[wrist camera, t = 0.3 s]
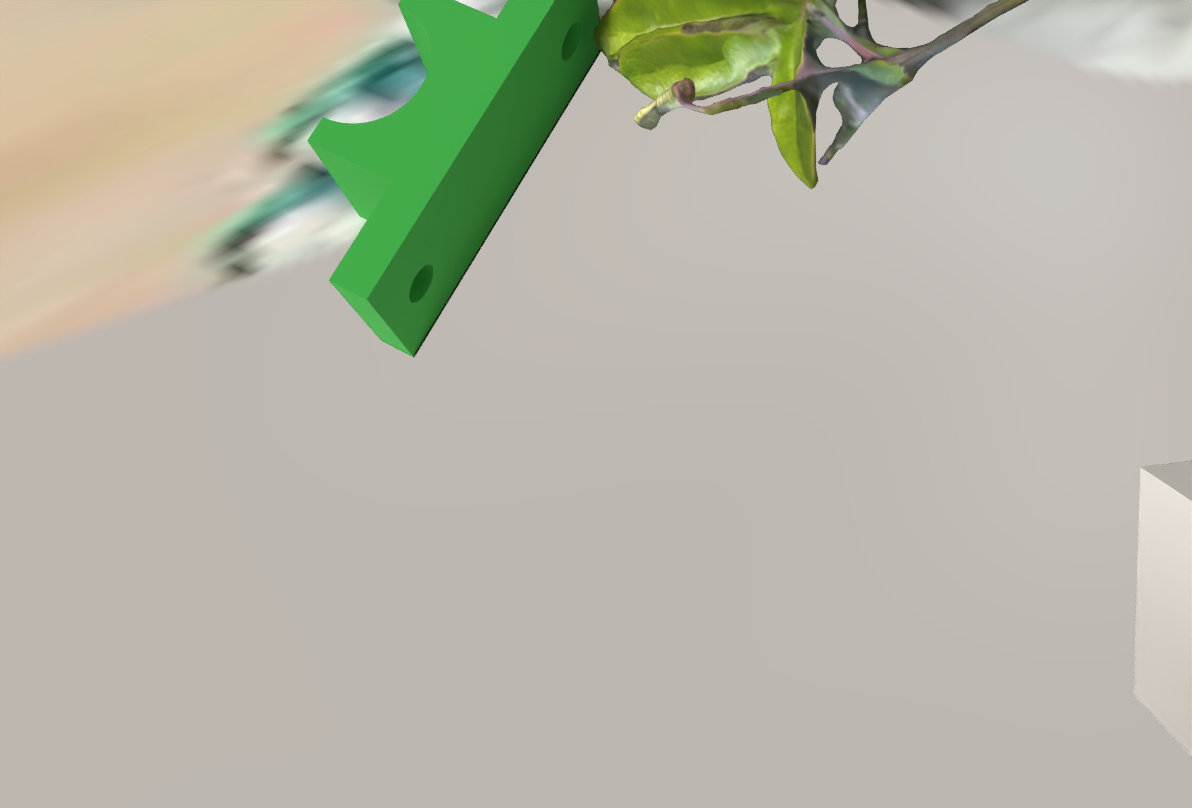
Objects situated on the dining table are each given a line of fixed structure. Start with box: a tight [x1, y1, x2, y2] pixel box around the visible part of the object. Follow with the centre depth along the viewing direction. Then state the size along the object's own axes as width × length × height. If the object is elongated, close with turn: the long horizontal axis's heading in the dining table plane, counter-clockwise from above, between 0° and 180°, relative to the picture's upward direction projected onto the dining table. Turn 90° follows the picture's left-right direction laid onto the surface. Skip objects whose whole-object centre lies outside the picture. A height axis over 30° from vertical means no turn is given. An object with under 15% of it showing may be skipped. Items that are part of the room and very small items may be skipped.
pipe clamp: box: [307, 0, 601, 357], centre depth 29 cm, size 11×4×5 cm, turn 151°
